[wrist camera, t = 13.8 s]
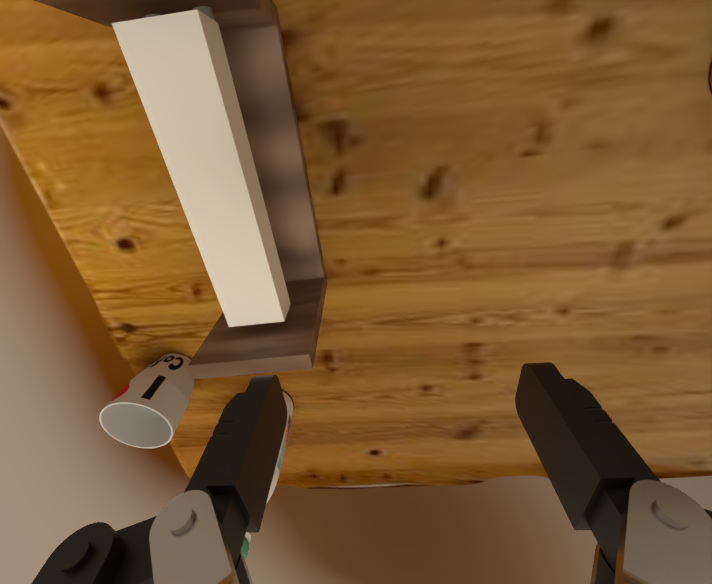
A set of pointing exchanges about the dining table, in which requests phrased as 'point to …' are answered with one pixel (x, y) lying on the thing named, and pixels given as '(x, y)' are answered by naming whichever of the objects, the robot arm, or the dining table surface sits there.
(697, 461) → the dining table surface
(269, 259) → the shelf board
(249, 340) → the shelf frame
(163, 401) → the cup
